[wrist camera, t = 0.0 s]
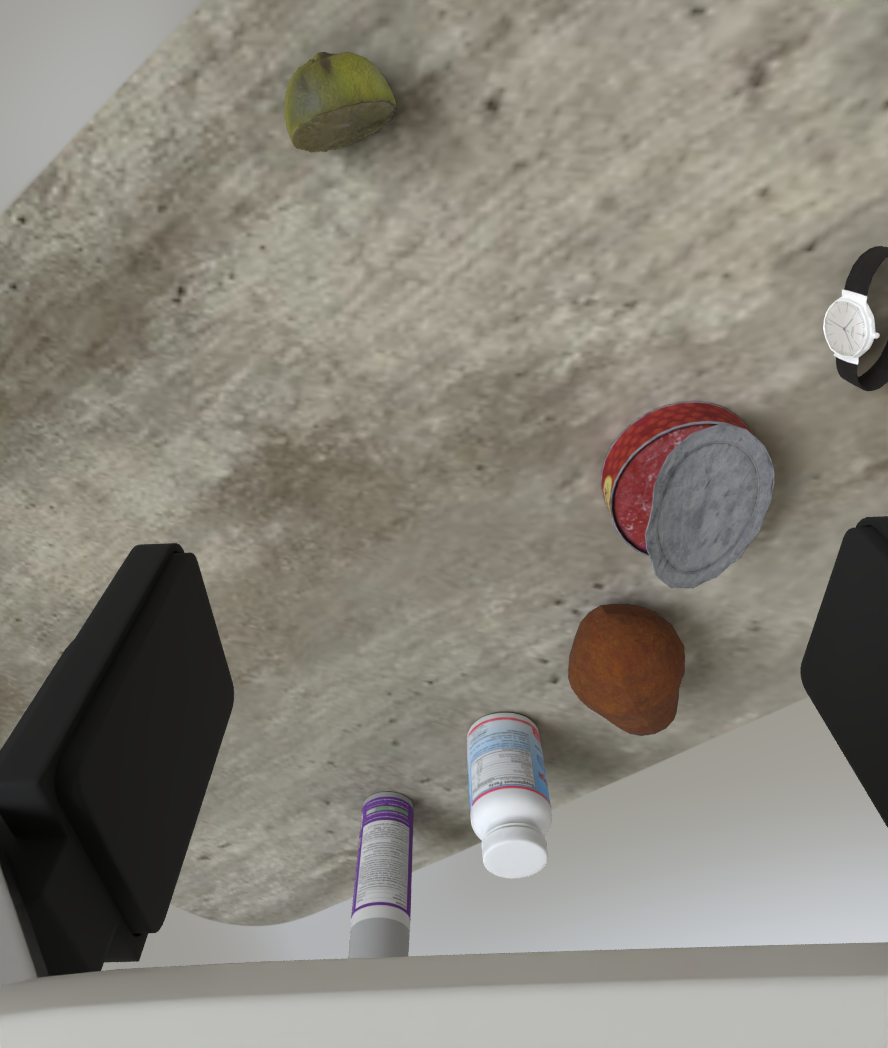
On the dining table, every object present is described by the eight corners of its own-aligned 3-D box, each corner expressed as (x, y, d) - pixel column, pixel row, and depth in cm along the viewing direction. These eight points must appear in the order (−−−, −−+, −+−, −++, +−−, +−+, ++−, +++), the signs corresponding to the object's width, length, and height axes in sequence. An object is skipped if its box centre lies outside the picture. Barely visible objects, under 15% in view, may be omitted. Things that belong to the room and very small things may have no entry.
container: (400, 827, 65) (391, 1008, 53) (354, 814, 64) (334, 995, 51) (422, 800, 63) (418, 981, 50) (375, 785, 62) (359, 968, 49)
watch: (828, 250, 37) (862, 266, 34) (919, 232, 37) (963, 246, 34) (814, 383, 41) (843, 408, 38) (896, 369, 41) (933, 392, 38)
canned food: (617, 387, 46) (676, 365, 36) (755, 435, 47) (849, 426, 37) (563, 547, 47) (606, 569, 37) (700, 592, 48) (777, 625, 38)
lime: (409, 92, 33) (405, 95, 29) (354, 182, 35) (343, 197, 31) (330, 23, 32) (313, 16, 27) (277, 121, 34) (255, 128, 29)
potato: (595, 698, 56) (615, 777, 50) (533, 611, 51) (546, 687, 45) (695, 656, 53) (729, 734, 47) (640, 561, 48) (670, 634, 42)
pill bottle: (531, 759, 60) (549, 887, 51) (461, 754, 59) (466, 882, 50) (545, 711, 57) (567, 838, 47) (472, 705, 56) (479, 833, 47)
